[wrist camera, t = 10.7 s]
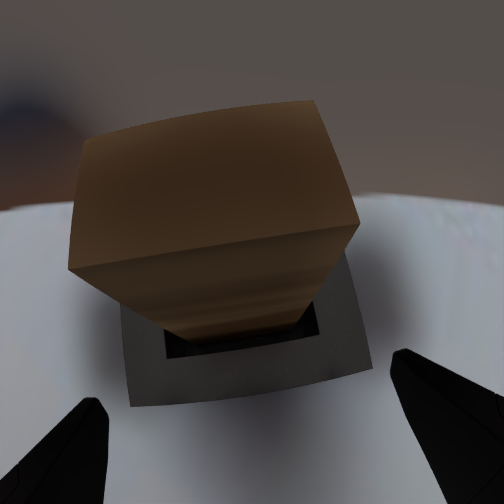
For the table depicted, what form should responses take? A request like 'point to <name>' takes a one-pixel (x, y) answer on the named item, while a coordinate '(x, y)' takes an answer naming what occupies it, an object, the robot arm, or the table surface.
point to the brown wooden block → (213, 219)
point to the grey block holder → (249, 353)
